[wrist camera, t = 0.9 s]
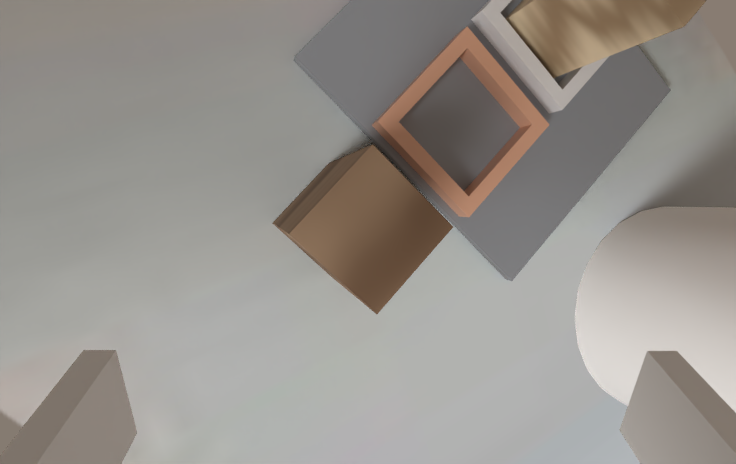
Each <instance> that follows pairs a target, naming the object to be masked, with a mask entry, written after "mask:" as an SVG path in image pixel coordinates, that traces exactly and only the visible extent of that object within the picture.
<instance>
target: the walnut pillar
mask: <svg viewBox="0 0 736 464" xmlns="http://www.w3.org/2000/svg"><path fill="white" fill-rule="evenodd" d="M273 224H274V225H275V226H276V227H277V228H278V229H279V230H281V231H282V232H283V233H284V234H285V235H286V236H287V237H288V238H289V239H291V240H292V241H293V242H294V243H295V244H296V245H297V246H298V247H299V248H300V249H302V250H303V251H304V252H305V253H306V254H307V255H308V256H309V257H310V258H311V259H313V260H314V261H315V262H316V263H317V264H318V265H319V266H320V267H321V268H322V269H324V270H325V271H326V272H327V273H328V274H329V275H330V276H331V277H332V278H334V279H335V280H336V281H337V282H338V283H340V284H341V285H342V286H343V287H344V288H346V289H347V290H348V291H349V292H351V293H352V294H353V295H354V296H355V297H357V298H358V299H359V300H360V301H361V302H363V303H364V304H365V305H366V306H368V307H369V308H370V309H371V310H372V311H374V312H375V313H376V314H378V312H379V311H380V310H381V309H382V308H383V307H384V306H385V304H386V303H387V302H388V301H389V300H390V299H391V298H392V296H393V295H394V294H395V293H396V292H397V291H398V290H399V288H400V287H401V286H402V285H403V284H404V283H405V282H406V280H407V279H408V278H409V277H410V276H411V275H412V274H413V272H414V271H415V270H416V269H417V268H418V267H419V266H420V264H421V263H422V262H423V261H424V260H425V259H426V257H427V256H428V255H429V254H430V253H431V252H432V251H433V249H434V248H435V247H436V246H437V245H438V244H439V243H440V241H441V240H442V239H443V238H444V237H445V236H446V235H447V233H448V232H449V231H450V230H451V229H452V228H453V226H452V225H451V224H450V223H449V222H448V221H447V220H446V219H445V218H444V217H443V216H442V215H441V214H440V213H439V212H438V211H437V210H436V209H435V208H434V207H433V206H432V205H431V204H430V203H429V202H428V201H427V200H426V198H425V197H424V196H423V195H422V194H421V193H420V192H419V191H418V190H417V189H416V188H415V187H414V186H413V185H412V184H411V183H410V182H409V181H408V180H407V179H406V178H405V177H404V176H403V175H402V174H401V173H400V172H399V171H398V170H397V169H396V168H395V167H394V166H393V165H392V163H391V162H390V161H389V160H388V159H387V158H386V157H385V156H384V155H383V154H382V153H381V152H380V151H379V150H378V149H377V148H376V147H375V146H374V145H373V144H372V145H370V146H368V147H365V148H363V149H361V150H358V151H356V152H354V153H352V154H349V155H347V156H345V157H342V158H340V159H338V160H335V161H333V162H331V163H329V164H328V165H327V166H326V167H325V168H324V169H323V170H322V171H321V172H320V173H319V174H318V175H317V176H316V177H315V178H314V180H313V181H312V182H311V183H310V184H309V185H308V186H307V187H306V188H305V189H304V190H303V191H302V192H301V193H300V194H299V195H298V197H297V198H296V199H295V200H294V201H293V202H292V203H291V204H290V205H289V206H288V207H287V208H286V209H285V210H284V211H283V212H282V213H281V215H280V216H279V217H278V218H277V219H276V220H275V221H274V222H273Z"/></svg>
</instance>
